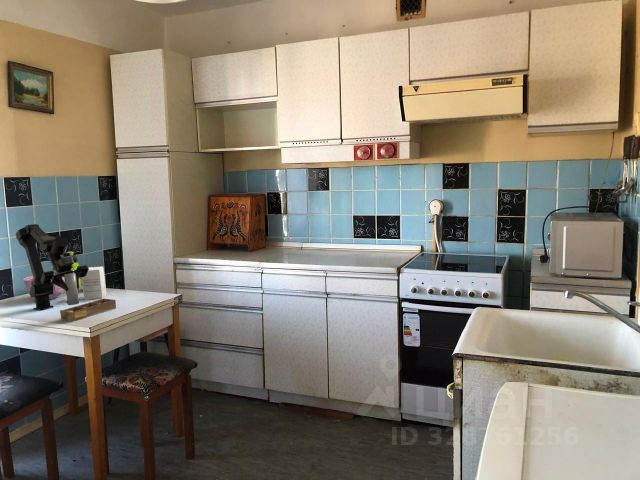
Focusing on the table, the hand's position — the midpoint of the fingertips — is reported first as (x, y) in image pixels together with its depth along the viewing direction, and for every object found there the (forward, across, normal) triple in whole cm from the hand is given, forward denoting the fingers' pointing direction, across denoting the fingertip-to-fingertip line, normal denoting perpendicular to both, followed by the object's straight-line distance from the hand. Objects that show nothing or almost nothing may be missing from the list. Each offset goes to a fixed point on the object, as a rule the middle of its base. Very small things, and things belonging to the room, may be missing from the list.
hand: (73, 289), depth 221 cm
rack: (+7, +7, +11) cm, 15 cm away
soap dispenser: (-40, +32, +59) cm, 78 cm away
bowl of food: (-29, +10, +48) cm, 57 cm away
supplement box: (-14, +25, +32) cm, 43 cm away
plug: (+4, 0, +6) cm, 7 cm away
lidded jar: (-28, +33, +47) cm, 63 cm away
